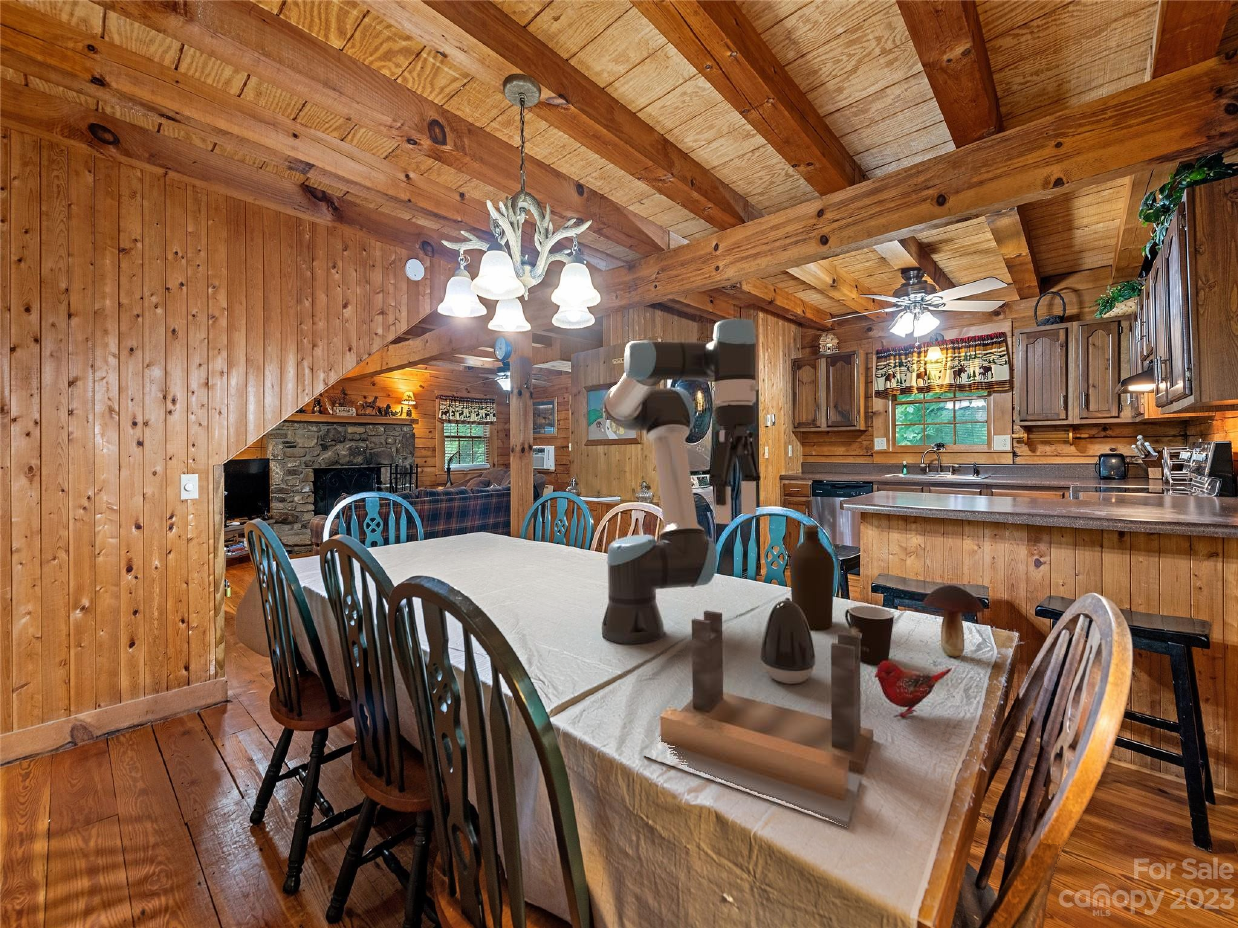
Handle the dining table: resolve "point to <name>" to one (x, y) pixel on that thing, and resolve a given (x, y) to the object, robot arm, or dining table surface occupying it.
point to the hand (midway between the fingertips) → (736, 518)
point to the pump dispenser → (787, 644)
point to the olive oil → (813, 579)
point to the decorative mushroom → (953, 615)
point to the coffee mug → (871, 632)
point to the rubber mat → (776, 786)
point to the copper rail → (758, 752)
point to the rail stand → (777, 721)
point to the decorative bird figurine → (905, 685)
